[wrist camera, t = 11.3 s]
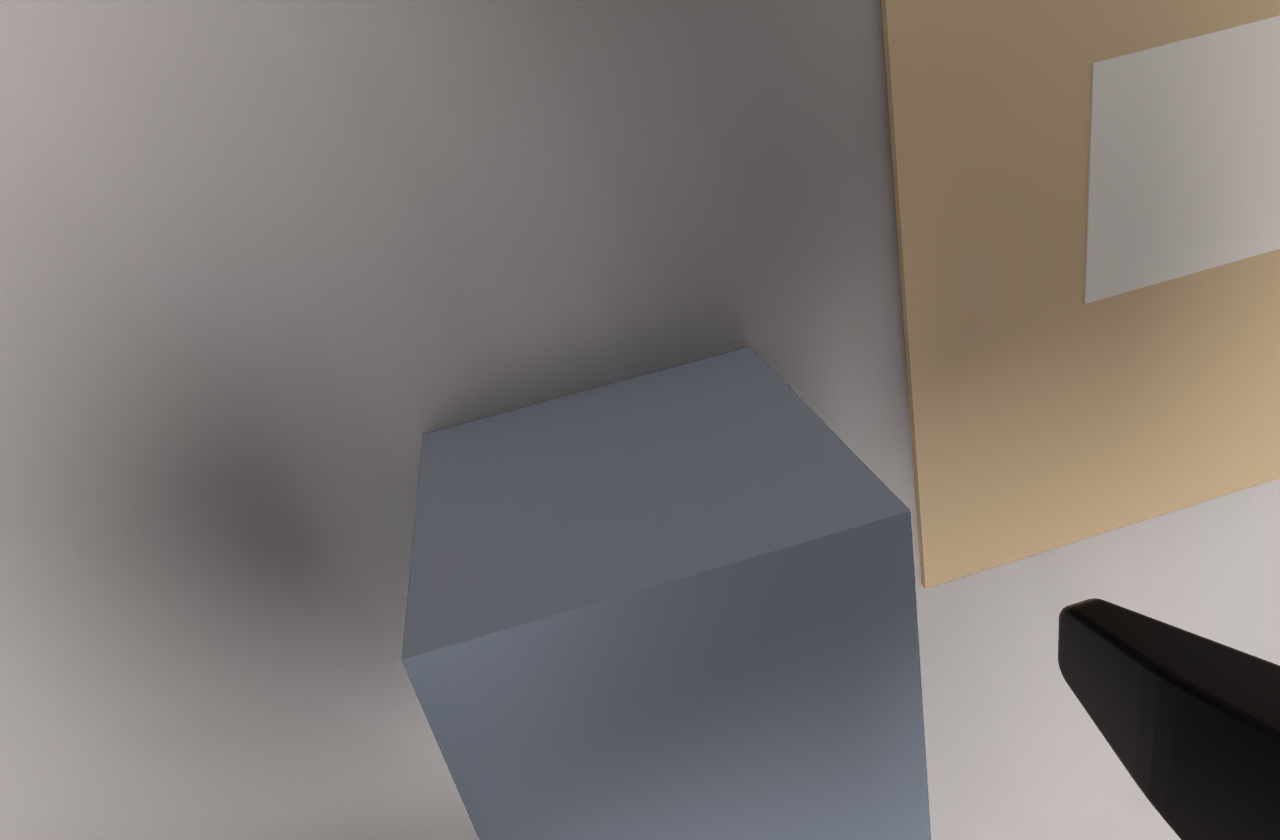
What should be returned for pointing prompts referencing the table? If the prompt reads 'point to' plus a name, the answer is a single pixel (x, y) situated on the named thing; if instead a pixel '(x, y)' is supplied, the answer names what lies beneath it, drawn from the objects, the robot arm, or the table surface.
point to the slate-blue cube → (668, 618)
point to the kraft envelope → (1083, 263)
